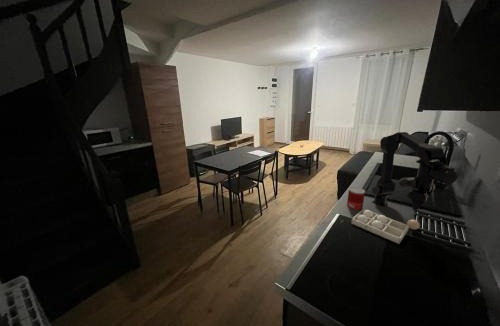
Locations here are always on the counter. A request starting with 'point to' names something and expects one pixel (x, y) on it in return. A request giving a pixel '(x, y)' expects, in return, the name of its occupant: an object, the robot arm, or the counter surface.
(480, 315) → the counter surface
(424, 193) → the robot arm
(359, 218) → the white egg
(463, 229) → the counter surface
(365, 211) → the white egg
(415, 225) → the brown egg
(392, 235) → the egg tray
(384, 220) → the white egg
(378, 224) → the white egg
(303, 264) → the counter surface
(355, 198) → the canned food
